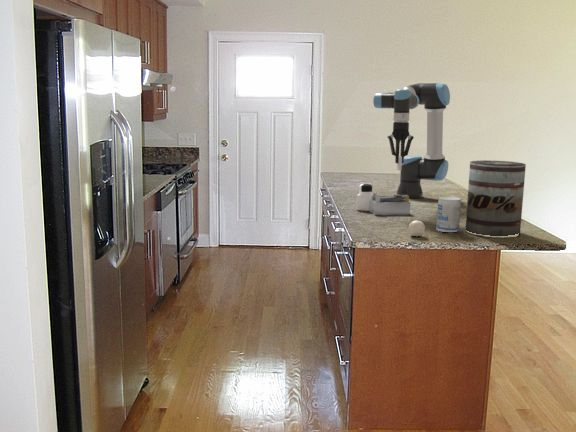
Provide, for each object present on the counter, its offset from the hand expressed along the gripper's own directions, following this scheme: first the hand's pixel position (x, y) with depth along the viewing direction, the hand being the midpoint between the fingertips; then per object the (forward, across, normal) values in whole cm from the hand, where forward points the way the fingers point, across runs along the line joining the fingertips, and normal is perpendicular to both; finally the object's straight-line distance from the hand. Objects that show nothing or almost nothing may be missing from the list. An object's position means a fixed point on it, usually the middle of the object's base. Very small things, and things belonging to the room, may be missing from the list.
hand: (399, 169), depth 320 cm
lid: (+14, -3, -1) cm, 15 cm away
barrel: (+22, +27, -49) cm, 60 cm away
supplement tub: (+21, +8, -46) cm, 52 cm away
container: (+22, -14, +9) cm, 28 cm away
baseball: (+21, -9, -55) cm, 60 cm away
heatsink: (+21, -4, -1) cm, 22 cm away
